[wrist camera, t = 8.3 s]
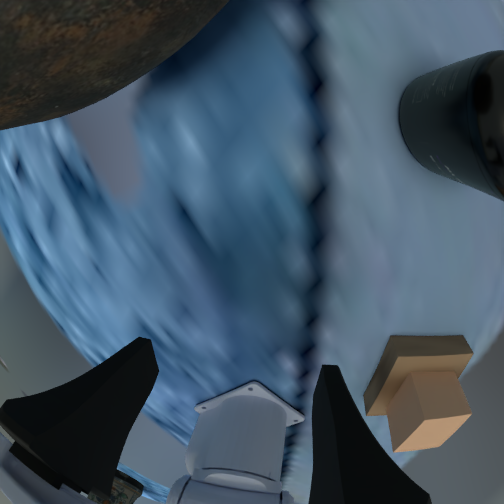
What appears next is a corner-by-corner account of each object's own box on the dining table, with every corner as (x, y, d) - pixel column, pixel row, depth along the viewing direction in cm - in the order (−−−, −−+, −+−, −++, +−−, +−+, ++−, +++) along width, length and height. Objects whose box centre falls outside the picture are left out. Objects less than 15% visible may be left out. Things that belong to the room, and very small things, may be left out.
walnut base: (428, 389, 22) (435, 410, 20) (362, 392, 23) (366, 415, 21) (461, 332, 19) (473, 353, 17) (389, 332, 20) (398, 356, 18)
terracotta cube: (428, 406, 20) (439, 446, 15) (385, 407, 20) (393, 452, 15) (454, 371, 17) (472, 413, 13) (410, 371, 18) (424, 420, 13)
